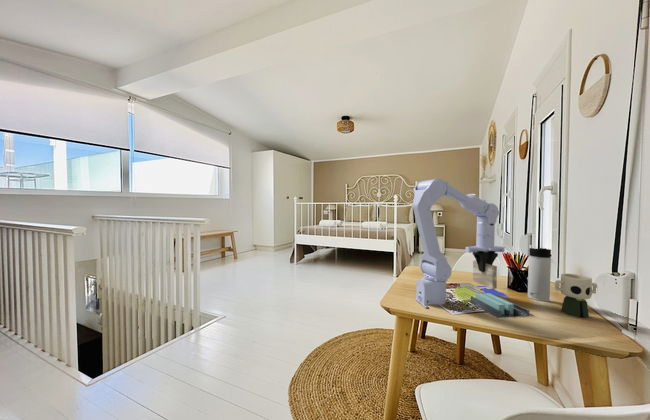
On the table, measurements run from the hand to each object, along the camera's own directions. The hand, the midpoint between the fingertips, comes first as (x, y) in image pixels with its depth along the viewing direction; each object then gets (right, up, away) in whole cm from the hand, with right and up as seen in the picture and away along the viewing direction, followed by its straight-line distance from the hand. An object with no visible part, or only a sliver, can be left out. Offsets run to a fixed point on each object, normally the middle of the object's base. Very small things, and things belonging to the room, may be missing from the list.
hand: (484, 271), depth 96 cm
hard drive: (+7, -11, +6) cm, 14 cm away
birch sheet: (0, -5, 0) cm, 5 cm away
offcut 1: (-5, -10, -11) cm, 15 cm away
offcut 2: (-2, -10, -10) cm, 14 cm away
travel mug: (+19, -11, -2) cm, 22 cm away
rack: (-2, -11, -10) cm, 15 cm away
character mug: (+20, -11, -15) cm, 27 cm away
